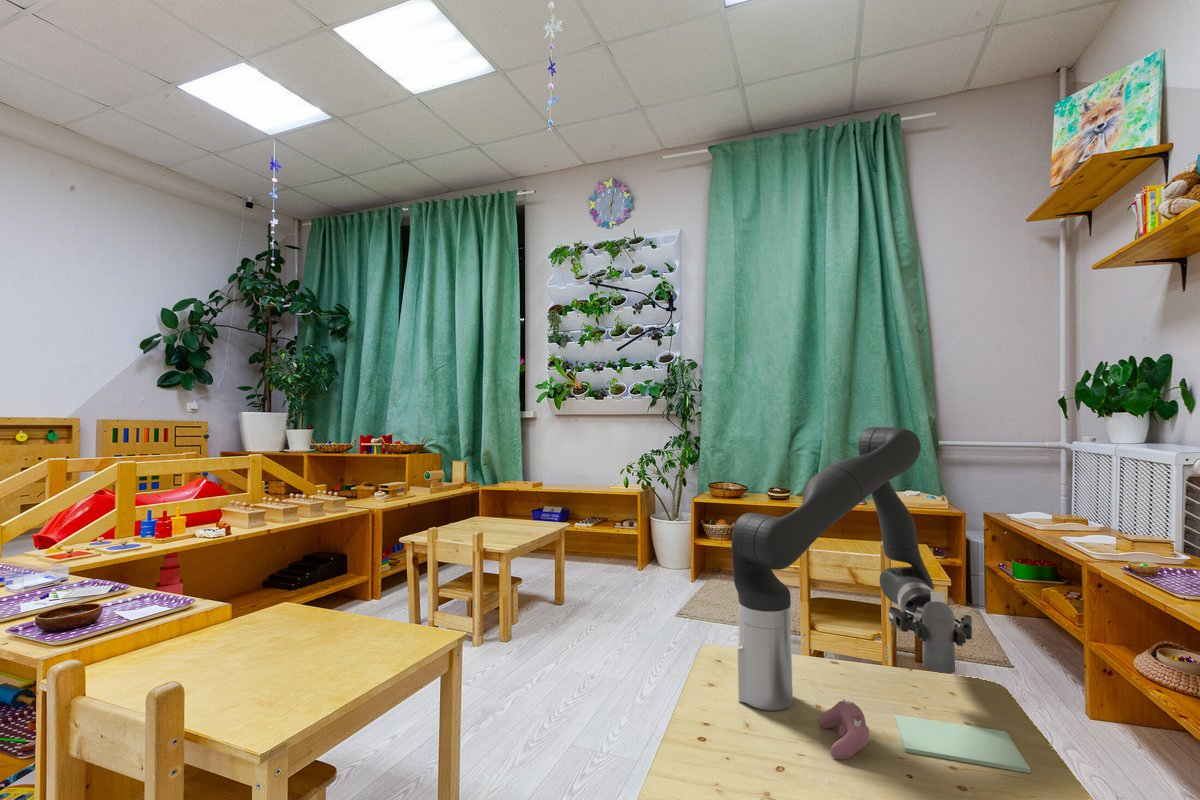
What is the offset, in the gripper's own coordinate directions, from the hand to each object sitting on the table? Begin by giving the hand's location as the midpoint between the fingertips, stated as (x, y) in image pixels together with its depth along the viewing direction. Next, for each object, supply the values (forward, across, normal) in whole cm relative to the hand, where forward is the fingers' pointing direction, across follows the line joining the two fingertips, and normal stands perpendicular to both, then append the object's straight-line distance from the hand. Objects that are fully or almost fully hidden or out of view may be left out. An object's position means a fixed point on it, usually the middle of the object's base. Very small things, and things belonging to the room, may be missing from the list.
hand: (942, 637), depth 94 cm
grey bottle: (-3, 0, +6) cm, 7 cm away
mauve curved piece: (+13, -16, +14) cm, 25 cm away
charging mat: (+7, 0, +14) cm, 15 cm away
